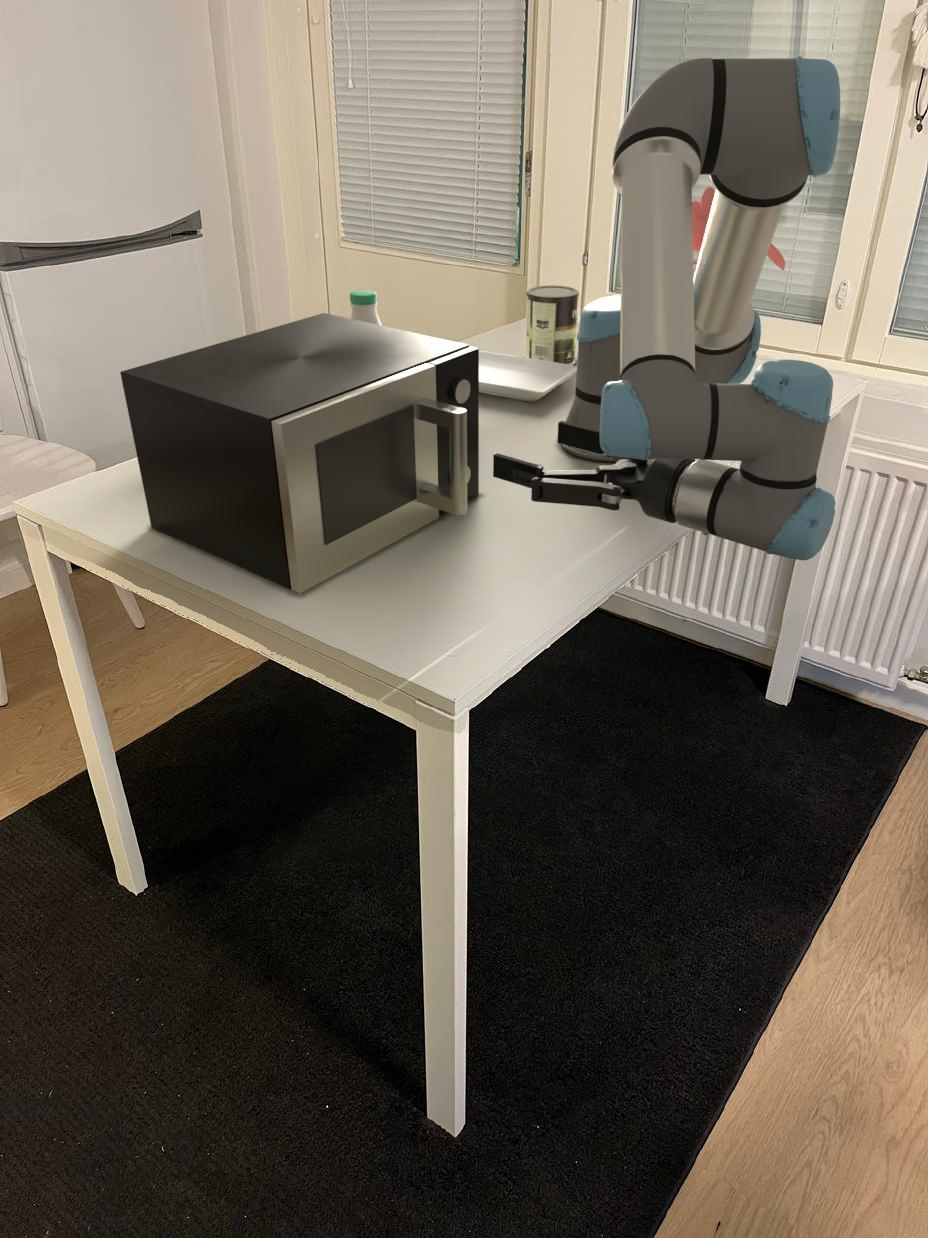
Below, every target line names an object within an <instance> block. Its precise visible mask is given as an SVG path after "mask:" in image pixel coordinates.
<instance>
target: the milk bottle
mask: <svg viewBox="0 0 928 1238" xmlns="http://www.w3.org/2000/svg"><path fill="white" fill-rule="evenodd" d="M349 301H350V307H351V308H352V309H351V317H350V319H354V320H359V321H363V322H368V323H372V324H377V325H381V326H383V324H382V322H381V320H380V318H379V315H378V311H377V306H378V294H377V292H376V291H374V290H370V289H359V290H354V291H351V292H350V294H349Z"/></svg>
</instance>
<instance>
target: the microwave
mask: <svg viewBox="0 0 928 1238" xmlns="http://www.w3.org/2000/svg"><path fill="white" fill-rule="evenodd" d="M479 348H480V347H479ZM479 348H478V347H474V346H470V344H467V343H463V342H459V341H453V340H448V339H444V338H439V337H435V336H431V335H426V334H422V333H417V332H413V331H408V330H403V329H399V328H395V327H389V326H386V325H382V326H381V325H377V324H372V323H368V322H363V321H359V320H354V319H351V317H350V318H349V317H344V316H341V315H335V314H331V313H327V312H323V313H319V314H316V315H312V316H309V317H304V318H302V319H298V320H294V321H292V322H287V323H284V324H281V325H278V326H274V327H271V328H267V329H264V330H260V331H257V332H252V333H249V334H247V335H243V336H239V337H236V338H232V339H228V340H226V341H222V342H218V343H216V344H212V345H208V346H204V347H201V348H197V349H194V350H190V351H188V352H184V353H180V354H176V355H174V356H170V357H166V358H162V359H160V360H156V361H153V362H149V363H145V364H143V365H139V366H135V367H132V368H129V369H125V370H123V371H122V370H121V371H120V373H119V374H120V378H121V379H120V380H121V383H122V388H123V393H124V399H125V404H126V409H127V413H128V418H129V424H130V429H131V432H132V433H131V434H132V438H133V443H134V449H135V452H136V458H137V463H138V467H139V472H140V478H141V483H142V487H143V492H144V497H145V503H146V508H147V512H148V517H149V522H150V527H151V529H153V530H156V531H158V532H160V533H162V534H165V535H167V536H168V537H171V538H173V539H175V540H178V541H181V542H183V543H185V544H187V545H190V546H192V547H193V548H196V549H198V550H201V551H203V552H206V553H208V554H209V555H212V556H214V557H216V558H218V559H221V560H223V561H225V562H228V563H230V564H232V565H234V566H236V567H239V568H240V569H243V570H245V571H247V572H250V573H252V574H254V575H256V576H258V577H261V578H262V579H265V580H268V581H269V582H272V583H274V584H276V585H278V586H281V587H282V588H285V589H287V590H289V591H290V590H291V582H290V573H289V565H288V556H287V548H286V540H285V531H284V523H283V515H282V506H281V498H280V489H279V481H278V473H277V464H276V456H275V447H274V439H273V431H272V422H271V421H273V420H276V419H279V418H281V417H284V416H287V415H289V414H292V413H295V412H297V411H300V410H303V409H305V408H308V407H311V406H313V405H316V404H319V403H321V402H324V401H327V400H329V399H332V398H335V397H337V396H340V395H343V394H345V393H348V392H351V391H353V390H356V389H359V388H361V387H364V386H367V385H369V384H372V383H375V382H377V381H380V380H383V379H386V378H388V377H391V376H394V375H396V374H399V373H402V372H404V371H407V370H410V369H412V368H415V367H418V366H420V365H423V364H426V363H428V364H432V365H435V366H436V401H438V402H442V403H446V404H449V405H453V406H457V407H461V408H464V409H466V410H467V502H468V501H470V500H471V499H474V498H476V497H477V496H479V494H480V493H479V487H480V485H479V478H480V475H479V471H480V470H479V466H480V465H479V464H480V463H479V460H480V458H479V455H480V454H479V453H480V451H479V450H480V448H479V444H480V442H479V441H480V439H479V438H480V436H479V434H480V433H479V432H480V431H479V430H480V429H479V428H480V427H479V425H480V422H479V421H480V420H479V419H480V418H479V417H480V416H479V415H480V412H479V411H480V410H479V409H480V406H479V404H480V402H479V401H480V395H479V394H480V392H479V350H480V349H479ZM437 449H438V486H441V487H444V488H447V489H450V429H449V428H446V427H443V426H439V425H437ZM446 513H447V512H446V511H443V510H440V509H439V517H440V516H442V515H444V514H446Z"/></svg>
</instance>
